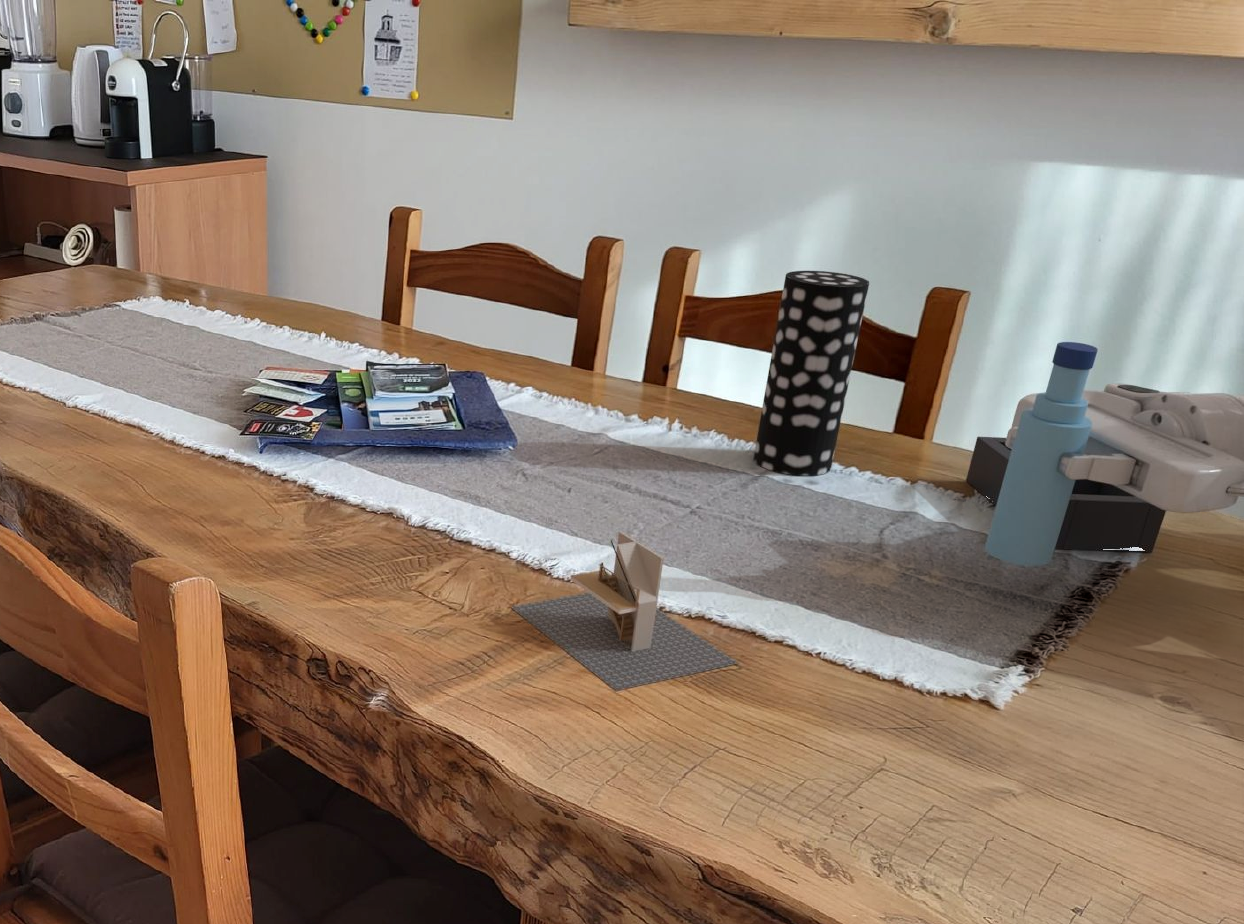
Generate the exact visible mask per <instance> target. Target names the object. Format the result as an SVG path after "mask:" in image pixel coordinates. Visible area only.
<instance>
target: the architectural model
mask: <svg viewBox="0 0 1244 924" xmlns="http://www.w3.org/2000/svg"><path fill="white" fill-rule="evenodd" d="M610 543H611V546H612V549H613V551H614V554H615V559H614V568H613V572H612V570H610V569H608V568H607V567H605V566H604V562H603V561H602V562H600V563H599V564H598V565H599V570H594V571H588V572H583V573H577V574H571V575H570V581H572V582H573V583H574V584H575V585H577V586H578V587H580V588H581V589H583V590H584V591H586V592H582V593H577V594H573V595H567V596H560V597H556V598H550V599H545V600H540V601H533V602H529V603H528V602H527V603H523V604H518V605H511V606H510V608H511V609H513V611H515V612H516V613H517V614H518V615H520V616H521V617H522V618H524V619H525V620H526V621H527V622H528V623H530V624H531V625H532V626H533V627H535V628H536V629H538V630H539V631H540V632H541V633H542V634H543V635H545V636H547V638H549V639H550V640H551V641H553V642H554V644H557V645H558V646H559V647H560V648H561V649H562V650H564V651H565V652H567V653H568V654H569V655H570V656H572V657H573V658H574V659H575V660H577V661H578V662H579V663H581V665H583V666H585V668H587V669H588V670H589V671H591V672H592V673H593V674H595V676H597V677H598V678H599V679H601V680H602V681H603V682H605V684H607V685H608V686H610V687H611V688H612V689H613V690H614V691H622V690H625V689H626V690H627V689H630V688H633V687H634V688H635V687H639V686H643V685H647V684H652V683H657V682H661V681H666V680H670V679H675V678H680V677H684V676H688V675H693V674H697V673H702V672H706V671H711V670H715V669H720V668H725V667H729V666H733V665H737V664H739V662H738V661H737V660H735V659H734V658H732V657H731V656H729V655H728V654H726V652H725V653H724V652H723V651H722V650H721V649H719V648H718V647H715V646H714V645H713V644H711V643H710V642H708V641H707V640H706V639H704V638H702V637H701V636H699V635H698V634H696V633H695V632H694V631H692V630H690V629H689V628H687V627H686V626H684V625H683V624H681V623H680V622H679V621H677V620H675V619H674V618H673V617H671V616H669V615H668V614H667V613H665V612H664V611H662V610H661V609H659V608H658V607H657V606H658V597H659V592H660V586H661V579H662V574H663V573H662V572H663V566H664V556H662V555H660V554H659V553H657V552H655V551H653V550H652V549H650V548H649V547H647V546H645V545H644V544H642V543H640V542H639V541H637V540H636V539H634V538H632V537H631V536H629V535H628V534H626V533H625V532H623V531H619V532H618V536H617V544H616V548H615V544H614V543H613V540H612V539H611V540H610Z"/></svg>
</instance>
